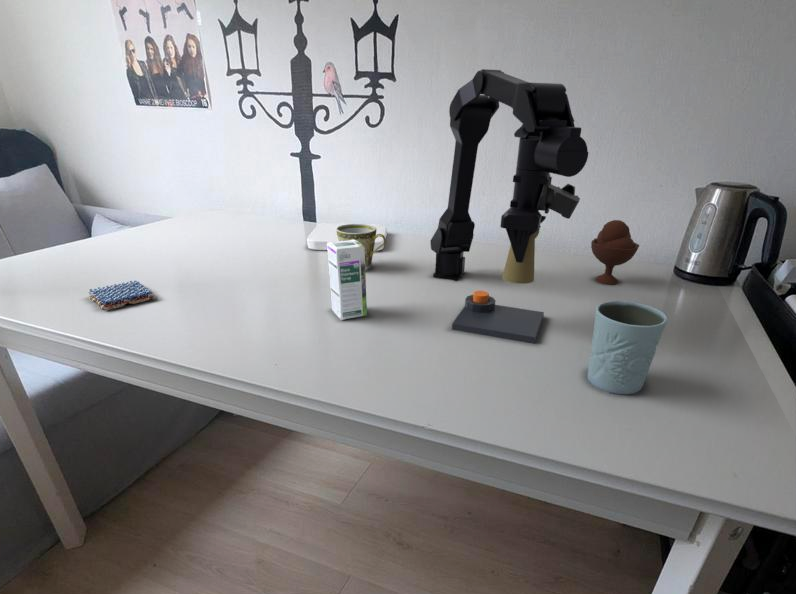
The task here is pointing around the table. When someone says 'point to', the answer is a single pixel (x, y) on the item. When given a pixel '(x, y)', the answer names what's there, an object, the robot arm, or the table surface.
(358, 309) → the syrup box
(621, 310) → the light blue embossed pot
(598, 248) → the ice cream bowl
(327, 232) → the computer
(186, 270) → the table surface
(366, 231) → the ceramic cup
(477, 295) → the button
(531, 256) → the cork
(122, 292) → the woven mat
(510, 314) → the dark grey base plate
